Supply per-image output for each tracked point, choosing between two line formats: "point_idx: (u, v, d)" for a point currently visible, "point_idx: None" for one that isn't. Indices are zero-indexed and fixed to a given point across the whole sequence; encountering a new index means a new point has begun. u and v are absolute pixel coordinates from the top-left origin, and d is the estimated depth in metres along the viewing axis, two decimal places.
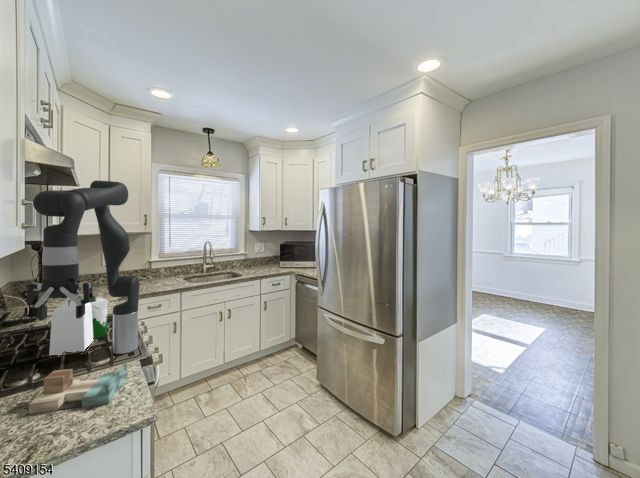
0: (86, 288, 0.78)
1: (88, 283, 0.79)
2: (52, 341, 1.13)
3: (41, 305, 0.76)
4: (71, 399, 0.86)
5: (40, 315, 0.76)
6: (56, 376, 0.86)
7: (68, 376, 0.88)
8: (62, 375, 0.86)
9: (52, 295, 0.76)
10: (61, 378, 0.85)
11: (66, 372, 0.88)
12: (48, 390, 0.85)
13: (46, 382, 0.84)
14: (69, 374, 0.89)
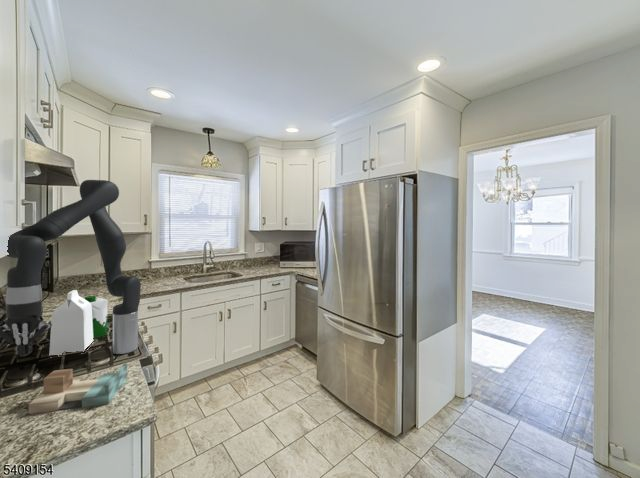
0: (42, 330, 0.85)
1: (47, 326, 0.86)
2: (52, 341, 1.13)
3: (21, 342, 0.84)
4: (71, 399, 0.86)
5: (20, 351, 0.83)
6: (56, 376, 0.86)
7: (68, 376, 0.88)
8: (62, 375, 0.86)
9: (21, 329, 0.83)
10: (61, 378, 0.85)
11: (66, 372, 0.88)
12: (48, 390, 0.85)
13: (46, 382, 0.84)
14: (69, 374, 0.89)
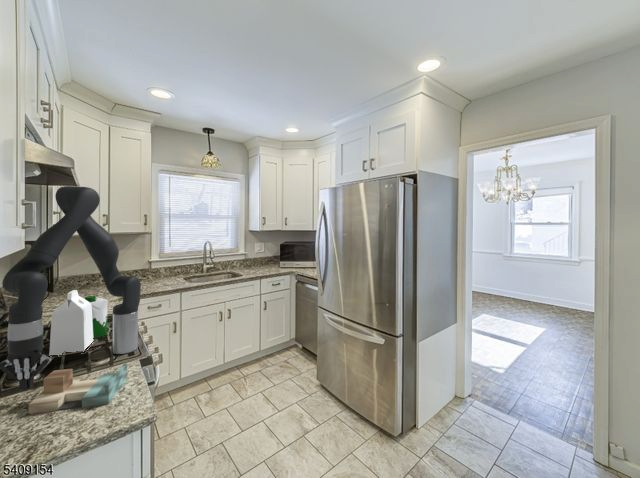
0: (43, 364, 0.85)
1: (49, 360, 0.86)
2: (52, 341, 1.13)
3: (23, 377, 0.84)
4: (71, 399, 0.86)
5: (22, 386, 0.84)
6: (56, 376, 0.86)
7: (68, 376, 0.88)
8: (62, 375, 0.86)
9: (23, 364, 0.84)
10: (61, 378, 0.85)
11: (66, 372, 0.88)
12: (48, 390, 0.85)
13: (46, 382, 0.84)
14: (69, 374, 0.89)
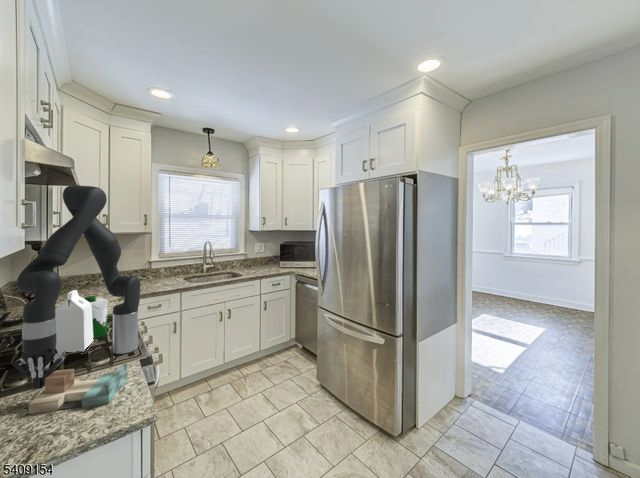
0: (57, 363, 0.86)
1: (62, 359, 0.87)
2: None
3: (37, 375, 0.85)
4: (71, 399, 0.86)
5: (36, 384, 0.85)
6: (57, 376, 0.86)
7: (69, 376, 0.88)
8: (63, 375, 0.86)
9: (36, 362, 0.85)
10: (62, 378, 0.85)
11: (67, 372, 0.88)
12: (49, 390, 0.85)
13: (47, 382, 0.84)
14: (70, 374, 0.89)
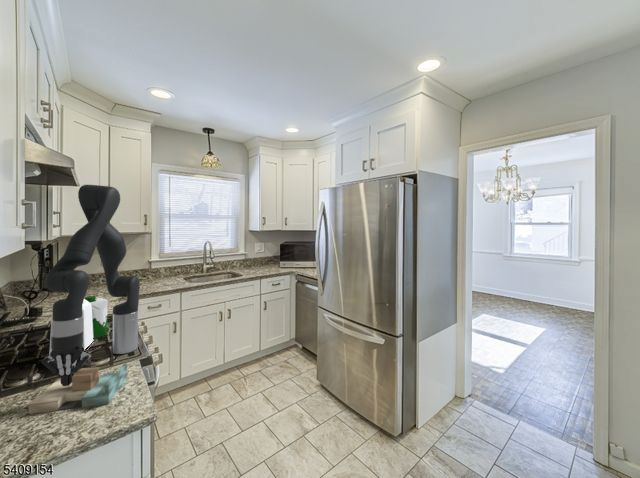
0: (84, 361, 0.88)
1: (89, 357, 0.89)
2: None
3: (64, 373, 0.87)
4: (71, 399, 0.86)
5: (63, 382, 0.87)
6: (83, 374, 0.87)
7: (95, 374, 0.90)
8: (90, 373, 0.88)
9: (64, 360, 0.86)
10: (89, 376, 0.87)
11: (93, 370, 0.90)
12: (76, 388, 0.86)
13: (74, 380, 0.86)
14: (96, 372, 0.90)
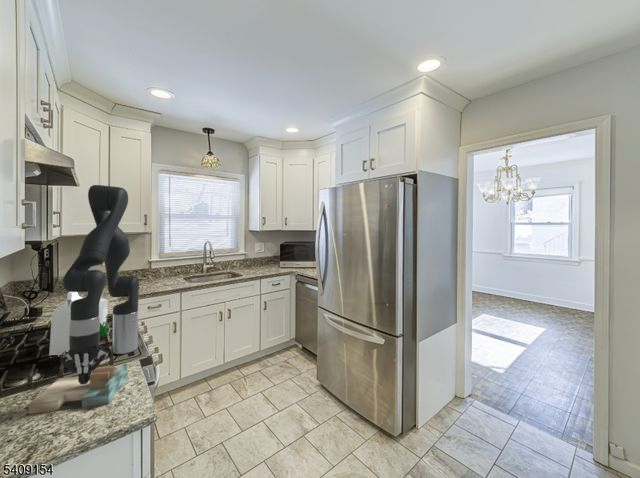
0: (101, 359, 0.89)
1: (106, 355, 0.90)
2: (52, 341, 1.13)
3: (82, 371, 0.88)
4: (71, 399, 0.86)
5: (81, 380, 0.88)
6: (101, 372, 0.89)
7: (112, 373, 0.91)
8: (107, 371, 0.89)
9: (82, 359, 0.88)
10: (106, 374, 0.88)
11: (110, 368, 0.91)
12: (94, 386, 0.88)
13: (92, 378, 0.87)
14: (112, 371, 0.92)
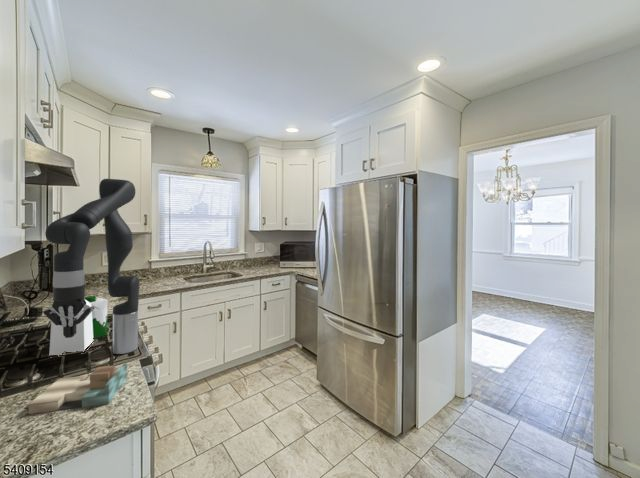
0: (86, 313, 0.88)
1: (91, 310, 0.89)
2: (52, 341, 1.13)
3: (67, 324, 0.87)
4: (71, 399, 0.86)
5: (66, 333, 0.87)
6: (101, 372, 0.89)
7: (112, 372, 0.91)
8: (107, 371, 0.89)
9: (67, 312, 0.87)
10: (106, 374, 0.88)
11: (110, 368, 0.91)
12: (94, 386, 0.88)
13: (92, 378, 0.87)
14: (112, 371, 0.92)
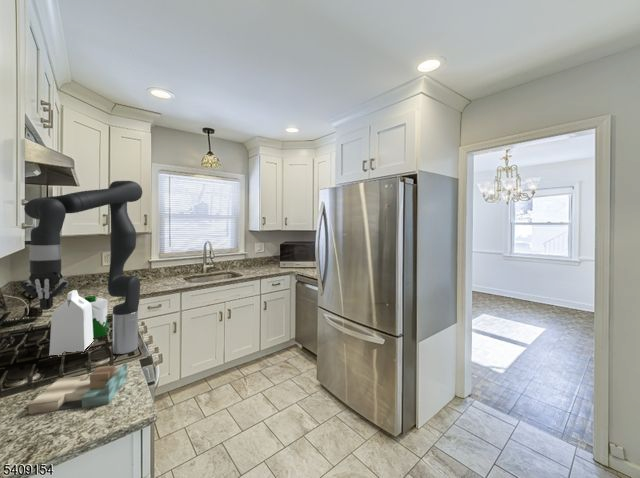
0: (62, 286, 0.92)
1: (67, 283, 0.93)
2: (52, 341, 1.13)
3: (43, 297, 0.91)
4: (71, 399, 0.86)
5: (43, 305, 0.91)
6: (101, 372, 0.89)
7: (112, 372, 0.91)
8: (107, 371, 0.89)
9: (43, 284, 0.91)
10: (106, 374, 0.88)
11: (110, 368, 0.91)
12: (94, 386, 0.88)
13: (92, 378, 0.87)
14: (112, 371, 0.92)
